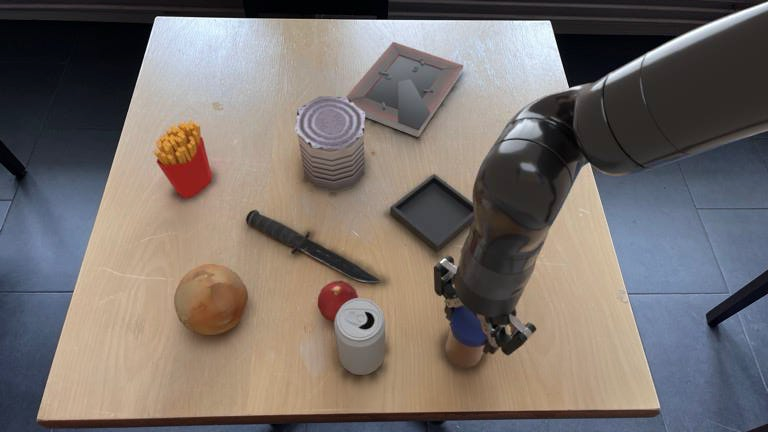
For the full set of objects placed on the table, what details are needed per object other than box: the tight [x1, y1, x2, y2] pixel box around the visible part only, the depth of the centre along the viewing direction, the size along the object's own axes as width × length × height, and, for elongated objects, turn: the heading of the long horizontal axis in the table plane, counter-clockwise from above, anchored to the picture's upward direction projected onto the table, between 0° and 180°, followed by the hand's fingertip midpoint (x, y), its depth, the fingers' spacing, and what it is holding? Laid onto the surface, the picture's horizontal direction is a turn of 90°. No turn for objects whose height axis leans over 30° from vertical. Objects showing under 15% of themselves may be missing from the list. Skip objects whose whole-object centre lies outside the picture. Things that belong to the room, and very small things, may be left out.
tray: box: [389, 173, 474, 254], centre depth 87 cm, size 11×11×2 cm
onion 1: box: [173, 263, 249, 336], centre depth 73 cm, size 10×10×10 cm
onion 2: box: [317, 280, 359, 323], centre depth 74 cm, size 6×6×8 cm
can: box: [294, 95, 366, 194], centre depth 89 cm, size 11×11×12 cm
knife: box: [245, 209, 382, 283], centre depth 82 cm, size 24×5×3 cm, turn 55°
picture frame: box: [346, 41, 464, 138], centre depth 105 cm, size 16×2×22 cm
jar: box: [444, 328, 485, 369], centre depth 70 cm, size 5×5×10 cm
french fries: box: [152, 119, 213, 199], centre depth 86 cm, size 8×4×12 cm, turn 145°
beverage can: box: [333, 297, 386, 376], centre depth 69 cm, size 6×6×12 cm
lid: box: [449, 306, 488, 348], centre depth 67 cm, size 6×6×2 cm
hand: (470, 331), depth 69 cm, fingers closed on lid, 5 cm apart
